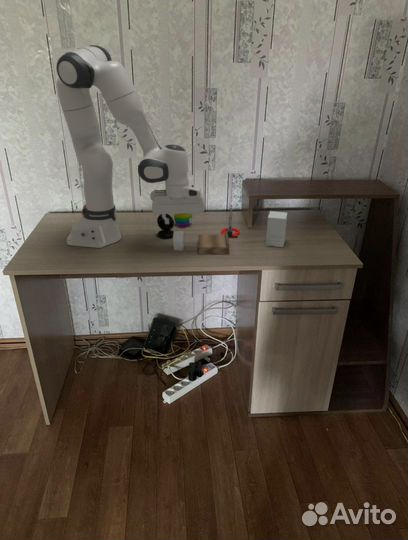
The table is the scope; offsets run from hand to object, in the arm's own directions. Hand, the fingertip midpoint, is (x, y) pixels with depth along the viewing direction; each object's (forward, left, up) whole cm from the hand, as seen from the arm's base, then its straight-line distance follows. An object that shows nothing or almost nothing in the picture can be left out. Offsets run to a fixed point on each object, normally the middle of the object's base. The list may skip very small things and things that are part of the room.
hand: (179, 223), depth 159 cm
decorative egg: (0, +24, -11) cm, 26 cm away
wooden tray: (+13, 0, -11) cm, 17 cm away
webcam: (-7, +12, -11) cm, 18 cm away
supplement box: (+39, +4, -11) cm, 41 cm away
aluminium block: (-1, 0, -11) cm, 11 cm away
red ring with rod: (+21, +14, -11) cm, 28 cm away
